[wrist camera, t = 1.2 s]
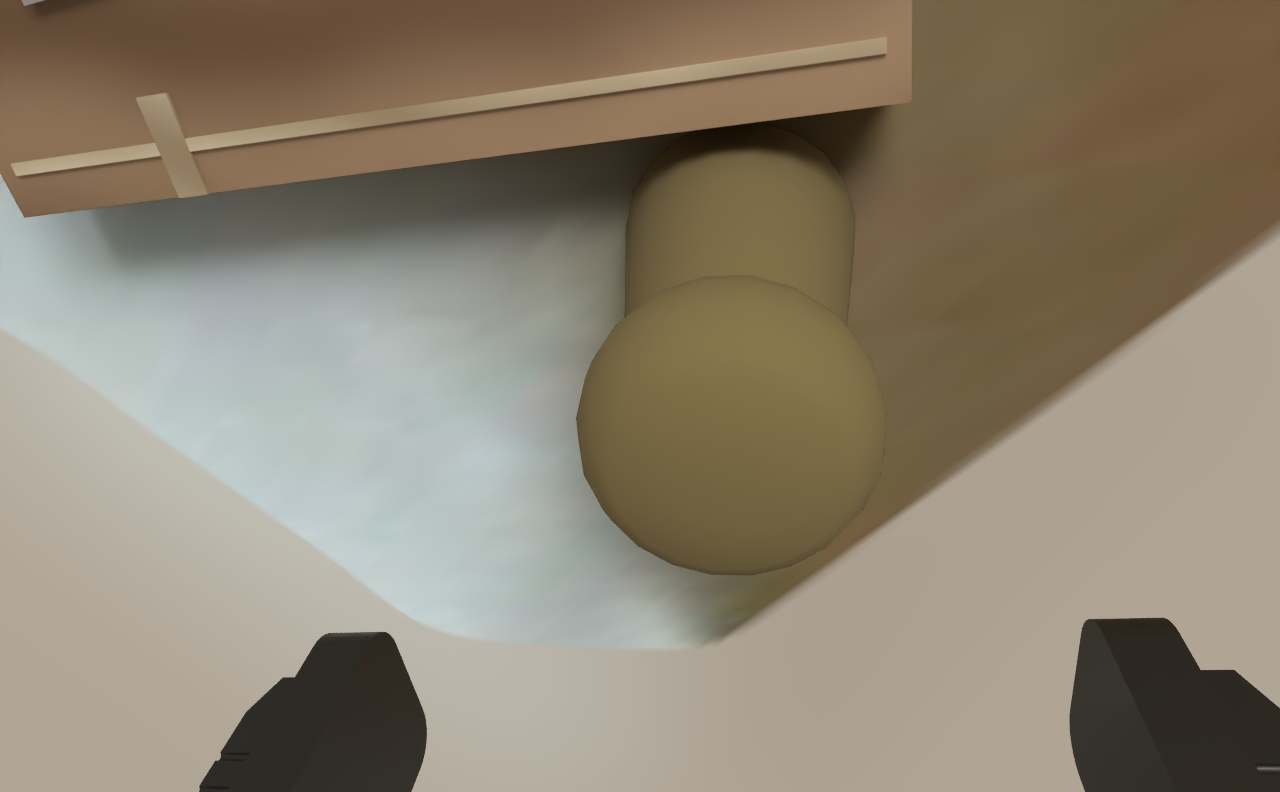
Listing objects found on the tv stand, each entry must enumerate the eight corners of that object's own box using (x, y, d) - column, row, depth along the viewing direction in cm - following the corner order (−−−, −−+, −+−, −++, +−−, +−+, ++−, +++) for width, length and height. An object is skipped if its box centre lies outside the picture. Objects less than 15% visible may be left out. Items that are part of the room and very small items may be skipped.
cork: (581, 244, 23) (458, 489, 13) (733, 67, 20) (713, 221, 11) (743, 378, 24) (734, 681, 15) (905, 231, 22) (1019, 490, 12)
